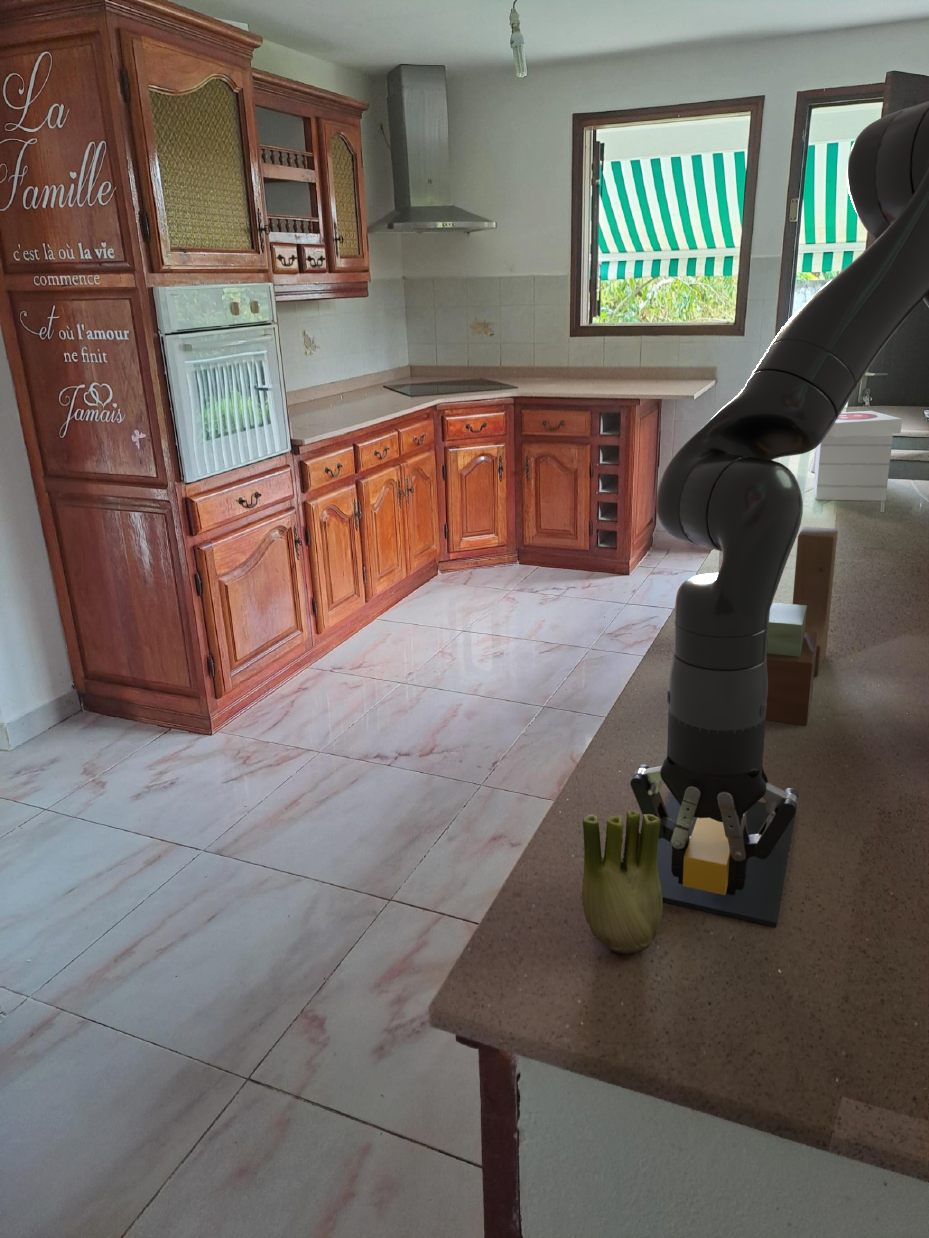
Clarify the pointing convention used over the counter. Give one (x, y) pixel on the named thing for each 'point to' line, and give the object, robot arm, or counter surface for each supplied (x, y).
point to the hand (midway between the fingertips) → (707, 883)
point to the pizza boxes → (855, 457)
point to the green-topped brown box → (789, 664)
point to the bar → (707, 857)
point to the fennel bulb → (622, 882)
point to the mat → (747, 904)
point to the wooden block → (815, 582)
